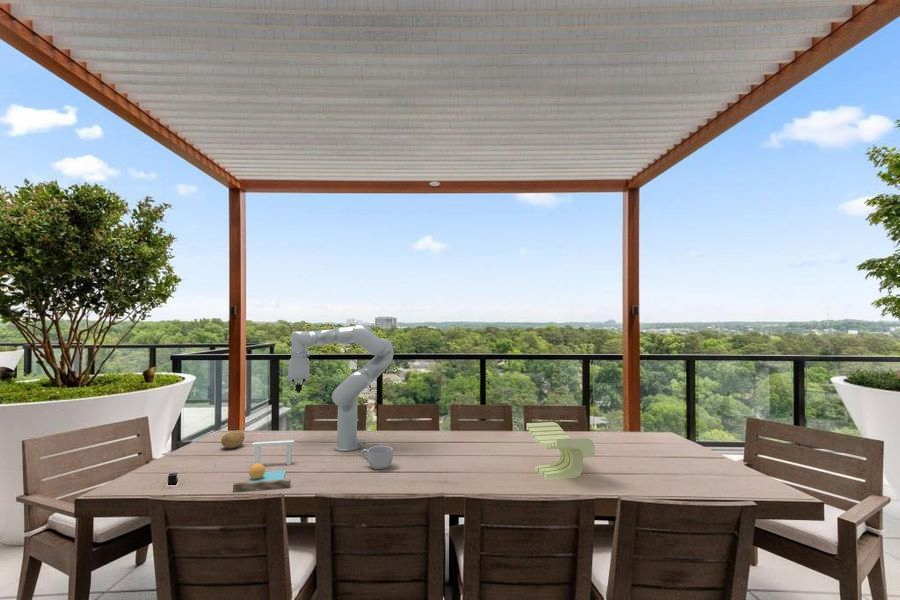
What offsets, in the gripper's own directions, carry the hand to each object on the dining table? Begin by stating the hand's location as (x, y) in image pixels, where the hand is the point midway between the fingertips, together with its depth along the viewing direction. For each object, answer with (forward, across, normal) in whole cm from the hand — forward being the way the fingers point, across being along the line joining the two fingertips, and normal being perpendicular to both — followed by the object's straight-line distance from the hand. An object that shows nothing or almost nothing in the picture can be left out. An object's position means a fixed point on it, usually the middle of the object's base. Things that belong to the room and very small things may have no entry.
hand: (298, 392), depth 237 cm
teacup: (+27, -36, +42) cm, 62 cm away
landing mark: (+27, +8, +45) cm, 53 cm away
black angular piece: (+28, +42, +46) cm, 69 cm away
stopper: (+27, +8, +59) cm, 65 cm away
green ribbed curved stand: (+27, -109, +67) cm, 131 cm away
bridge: (+27, +8, +28) cm, 40 cm away
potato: (+27, +31, -6) cm, 42 cm away
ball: (+24, +12, +47) cm, 54 cm away
